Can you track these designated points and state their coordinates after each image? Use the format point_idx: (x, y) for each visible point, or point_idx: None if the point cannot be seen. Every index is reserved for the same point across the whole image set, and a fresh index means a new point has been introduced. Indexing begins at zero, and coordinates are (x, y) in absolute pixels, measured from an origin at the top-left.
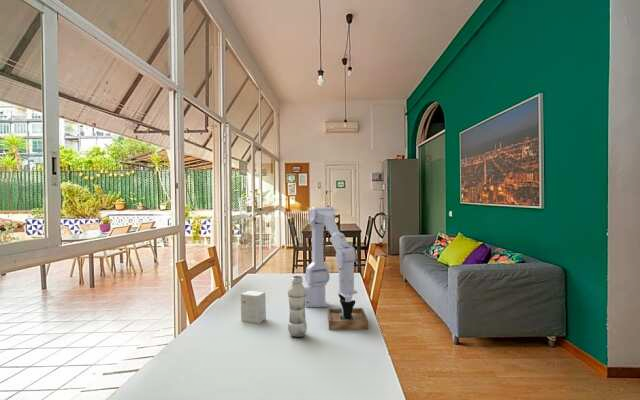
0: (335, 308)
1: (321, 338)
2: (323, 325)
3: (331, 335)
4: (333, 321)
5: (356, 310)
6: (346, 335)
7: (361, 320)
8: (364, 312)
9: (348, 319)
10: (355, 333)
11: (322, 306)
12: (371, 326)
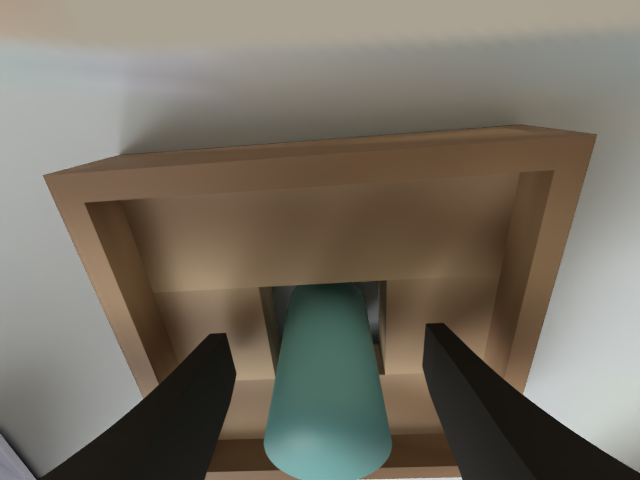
0: None
1: (606, 437)
2: None
3: (577, 394)
4: None
5: (120, 248)
6: (613, 313)
7: (567, 221)
8: (249, 161)
9: (367, 318)
10: (595, 248)
11: (9, 450)
12: (445, 74)
